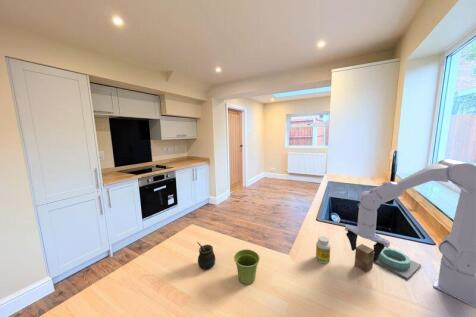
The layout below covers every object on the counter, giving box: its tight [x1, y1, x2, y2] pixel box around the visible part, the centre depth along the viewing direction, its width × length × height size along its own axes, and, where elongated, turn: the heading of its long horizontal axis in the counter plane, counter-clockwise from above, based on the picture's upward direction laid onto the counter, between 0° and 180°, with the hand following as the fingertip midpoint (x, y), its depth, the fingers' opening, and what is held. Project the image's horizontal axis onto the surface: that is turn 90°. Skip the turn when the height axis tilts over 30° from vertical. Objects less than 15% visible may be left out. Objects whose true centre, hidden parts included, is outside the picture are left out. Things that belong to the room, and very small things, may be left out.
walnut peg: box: [354, 243, 374, 273], centre depth 71 cm, size 4×4×8 cm
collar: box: [373, 247, 422, 281], centre depth 74 cm, size 13×13×3 cm
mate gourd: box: [197, 241, 216, 271], centre depth 74 cm, size 7×8×10 cm
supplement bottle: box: [315, 235, 331, 264], centre depth 76 cm, size 5×5×10 cm
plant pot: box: [233, 249, 261, 286], centre depth 67 cm, size 9×9×9 cm
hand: (364, 254), depth 71 cm, fingers open, 7 cm apart
